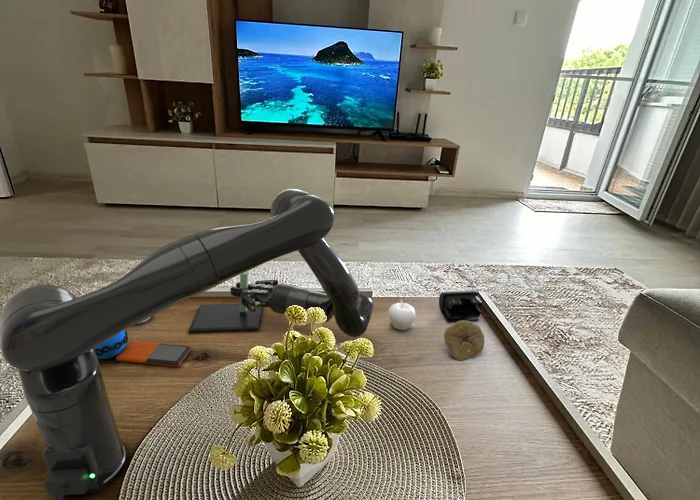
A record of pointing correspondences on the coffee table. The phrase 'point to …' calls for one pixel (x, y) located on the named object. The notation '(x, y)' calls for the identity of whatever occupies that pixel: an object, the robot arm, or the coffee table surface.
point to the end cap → (460, 306)
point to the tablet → (224, 319)
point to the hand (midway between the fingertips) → (234, 288)
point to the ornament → (112, 346)
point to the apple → (401, 315)
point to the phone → (154, 353)
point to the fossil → (464, 340)
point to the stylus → (244, 286)
